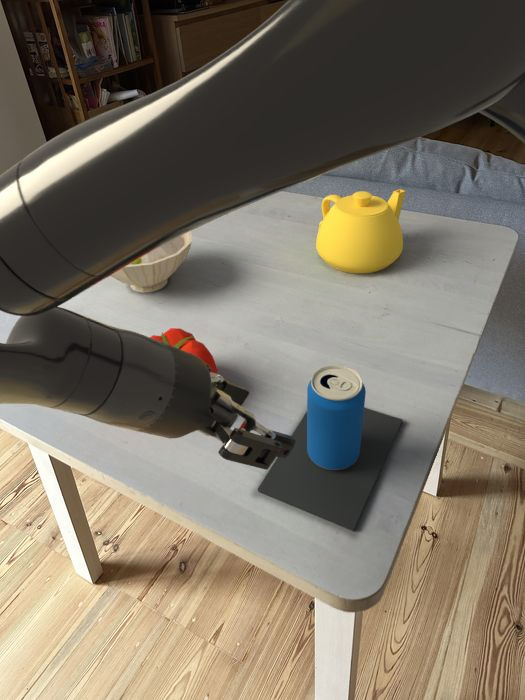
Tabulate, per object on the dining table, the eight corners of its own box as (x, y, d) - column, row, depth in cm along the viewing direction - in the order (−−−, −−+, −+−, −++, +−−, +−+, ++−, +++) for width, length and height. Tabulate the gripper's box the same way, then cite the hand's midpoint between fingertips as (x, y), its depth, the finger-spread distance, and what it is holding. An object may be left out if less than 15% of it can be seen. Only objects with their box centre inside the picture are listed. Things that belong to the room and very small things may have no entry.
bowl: (105, 322, 92) (91, 271, 86) (91, 270, 106) (77, 223, 100) (212, 295, 97) (206, 245, 91) (185, 249, 111) (177, 203, 105)
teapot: (360, 287, 97) (365, 222, 89) (291, 251, 108) (290, 190, 100) (430, 250, 106) (440, 188, 98) (359, 220, 118) (363, 162, 110)
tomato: (204, 431, 71) (196, 384, 66) (120, 416, 74) (105, 369, 69) (233, 370, 81) (228, 324, 75) (158, 359, 84) (148, 314, 78)
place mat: (318, 395, 75) (318, 392, 75) (402, 422, 71) (402, 419, 70) (257, 491, 63) (257, 488, 63) (354, 531, 59) (354, 528, 58)
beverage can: (320, 426, 70) (322, 356, 62) (367, 444, 67) (375, 372, 60) (298, 461, 66) (297, 390, 58) (347, 481, 63) (352, 409, 55)
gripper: (208, 396, 38) (329, 435, 50) (131, 306, 48) (248, 356, 59) (152, 478, 39) (284, 497, 51) (88, 374, 49) (211, 410, 61)
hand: (264, 421), depth 55 cm, fingers open, 8 cm apart
